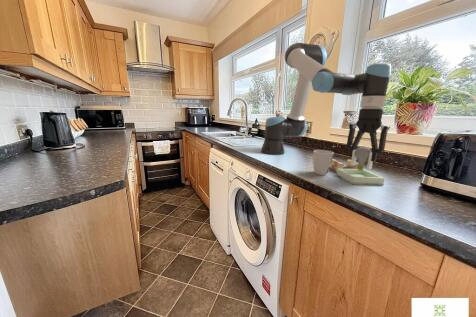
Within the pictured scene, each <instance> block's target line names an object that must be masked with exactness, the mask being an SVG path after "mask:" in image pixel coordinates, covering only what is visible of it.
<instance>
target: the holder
mask: <svg viewBox="0 0 476 317" xmlns="http://www.w3.org/2000/svg"><path fill="white" fill-rule="evenodd" d="M344 165H345V164H344V163H342V162H340V161H338V160H336V159H333V158H332V163H331V166H330V169H331V170H333V171H334V172H336V173H337V169H357V167H358V161H356V164H355V165H354V166H350V165H351V159H347V160H346V165H345V166H344Z"/></svg>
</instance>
